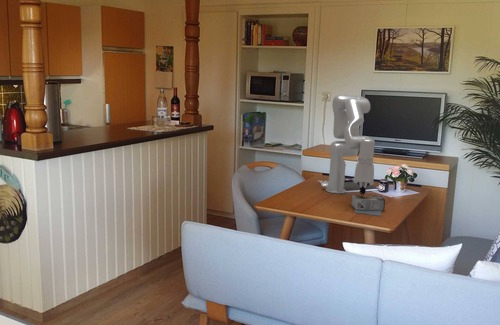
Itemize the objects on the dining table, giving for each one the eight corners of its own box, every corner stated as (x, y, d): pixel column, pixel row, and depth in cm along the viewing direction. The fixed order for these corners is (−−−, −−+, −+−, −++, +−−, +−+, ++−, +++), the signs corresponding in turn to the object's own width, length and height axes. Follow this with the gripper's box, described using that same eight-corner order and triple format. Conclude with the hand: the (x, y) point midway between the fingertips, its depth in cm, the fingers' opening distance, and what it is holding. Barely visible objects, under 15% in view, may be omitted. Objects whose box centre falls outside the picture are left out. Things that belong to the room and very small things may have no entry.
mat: (353, 212, 280) (354, 212, 280) (356, 206, 293) (356, 205, 293) (380, 216, 276) (380, 215, 276) (382, 209, 289) (382, 208, 289)
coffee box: (352, 194, 291) (380, 195, 292) (351, 205, 292) (379, 206, 294) (357, 198, 282) (385, 199, 283) (355, 210, 283) (384, 210, 285)
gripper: (350, 161, 279) (347, 194, 282) (379, 164, 274) (375, 197, 278) (352, 158, 286) (349, 190, 289) (380, 161, 281) (376, 194, 285)
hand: (362, 194), depth 284 cm, fingers closed
